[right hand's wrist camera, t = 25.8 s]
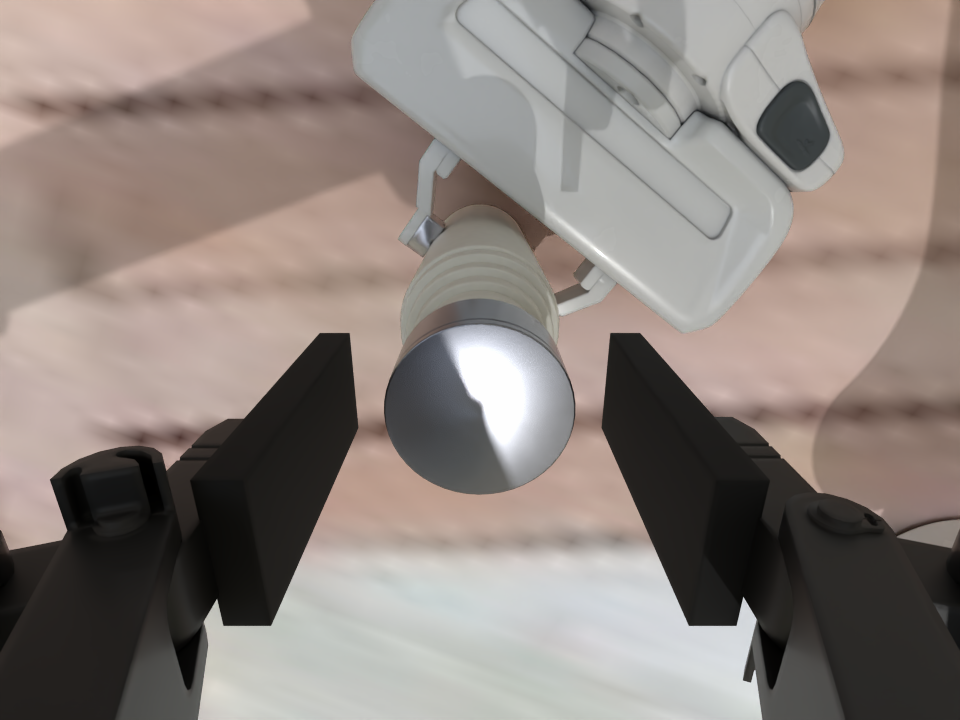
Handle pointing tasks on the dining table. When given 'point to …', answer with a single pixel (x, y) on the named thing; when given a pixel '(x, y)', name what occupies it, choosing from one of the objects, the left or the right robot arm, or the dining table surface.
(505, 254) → the bottle
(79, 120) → the dining table surface
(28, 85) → the dining table surface
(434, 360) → the cap
